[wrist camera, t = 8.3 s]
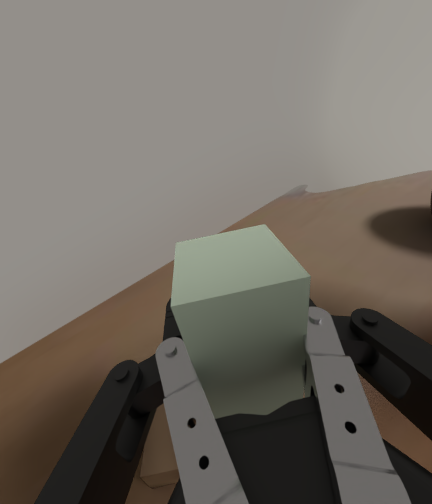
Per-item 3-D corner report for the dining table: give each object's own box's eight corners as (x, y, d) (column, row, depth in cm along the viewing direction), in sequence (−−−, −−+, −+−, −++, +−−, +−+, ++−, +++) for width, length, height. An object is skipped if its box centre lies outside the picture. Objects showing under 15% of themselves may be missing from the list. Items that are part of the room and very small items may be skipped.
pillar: (272, 350, 16) (264, 224, 11) (301, 422, 12) (310, 276, 7) (211, 363, 16) (176, 242, 11) (220, 441, 12) (170, 306, 7)
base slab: (244, 352, 29) (242, 337, 27) (272, 462, 19) (270, 448, 18) (163, 369, 29) (157, 355, 27) (151, 488, 19) (139, 477, 18)
